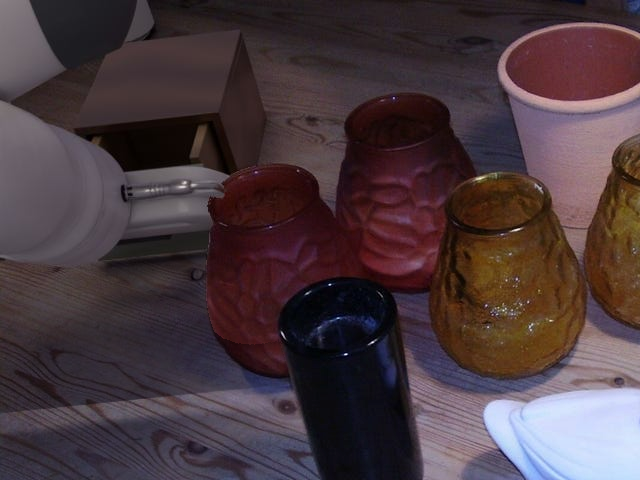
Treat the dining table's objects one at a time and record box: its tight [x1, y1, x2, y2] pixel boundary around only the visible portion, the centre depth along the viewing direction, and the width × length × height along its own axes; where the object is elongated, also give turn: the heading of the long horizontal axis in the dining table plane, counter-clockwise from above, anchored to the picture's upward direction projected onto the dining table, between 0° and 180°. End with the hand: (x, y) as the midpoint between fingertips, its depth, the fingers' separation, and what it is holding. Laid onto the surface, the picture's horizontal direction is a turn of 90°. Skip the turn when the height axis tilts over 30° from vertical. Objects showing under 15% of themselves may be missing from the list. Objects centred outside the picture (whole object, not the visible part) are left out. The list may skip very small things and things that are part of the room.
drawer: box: [91, 121, 230, 262], centre depth 86 cm, size 18×11×8 cm, turn 2°
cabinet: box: [72, 29, 267, 175], centre depth 93 cm, size 15×13×10 cm
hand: (137, 225), depth 80 cm, fingers closed on drawer, 5 cm apart
